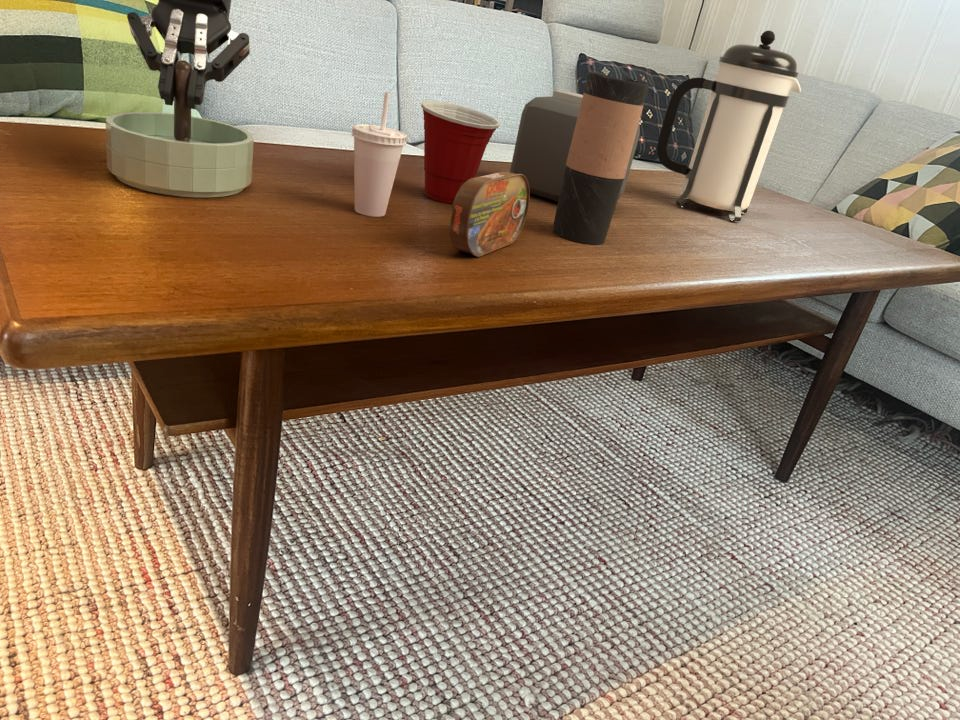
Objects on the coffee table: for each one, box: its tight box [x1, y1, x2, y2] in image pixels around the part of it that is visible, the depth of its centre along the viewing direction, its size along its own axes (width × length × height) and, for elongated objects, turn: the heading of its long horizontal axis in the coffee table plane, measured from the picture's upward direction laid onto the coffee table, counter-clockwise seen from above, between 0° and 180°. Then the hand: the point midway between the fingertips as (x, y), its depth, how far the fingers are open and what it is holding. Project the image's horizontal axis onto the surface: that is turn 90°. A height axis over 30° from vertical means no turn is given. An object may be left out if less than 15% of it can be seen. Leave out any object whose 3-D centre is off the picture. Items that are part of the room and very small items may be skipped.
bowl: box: [105, 111, 255, 199], centre depth 84 cm, size 15×15×6 cm
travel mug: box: [552, 70, 649, 245], centre depth 93 cm, size 8×8×20 cm
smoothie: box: [350, 91, 408, 218], centre depth 85 cm, size 6×6×14 cm
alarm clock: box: [509, 89, 641, 203], centre depth 112 cm, size 16×11×16 cm
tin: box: [449, 171, 531, 258], centre depth 82 cm, size 15×3×8 cm, turn 151°
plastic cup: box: [420, 100, 501, 205], centre depth 99 cm, size 11×11×12 cm
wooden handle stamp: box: [163, 59, 201, 143], centre depth 82 cm, size 6×6×12 cm
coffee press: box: [656, 30, 802, 222], centre depth 125 cm, size 17×16×30 cm
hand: (179, 102), depth 80 cm, fingers closed on wooden handle stamp
